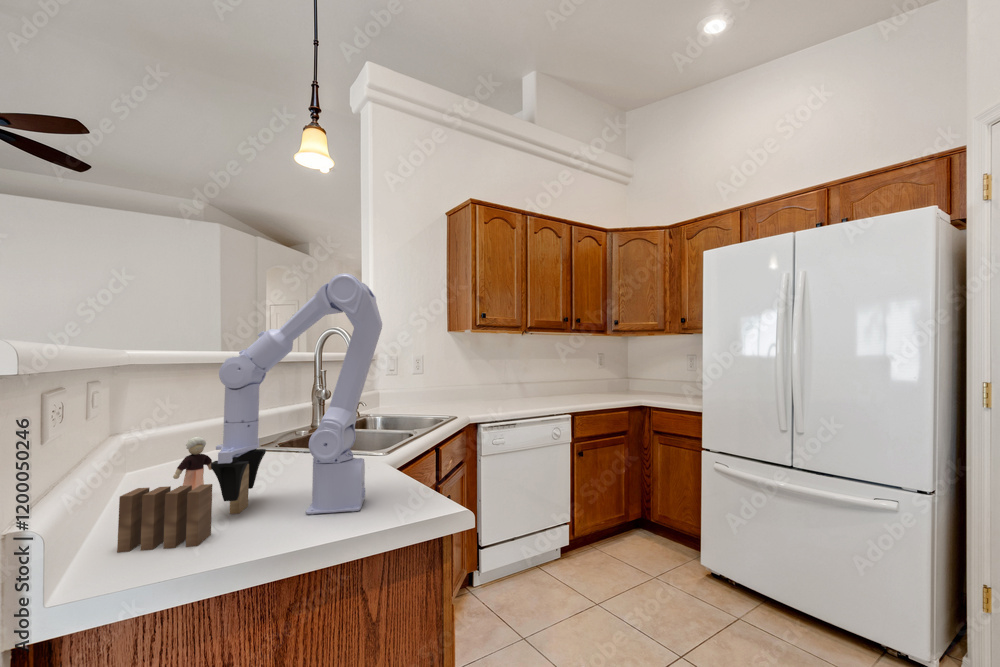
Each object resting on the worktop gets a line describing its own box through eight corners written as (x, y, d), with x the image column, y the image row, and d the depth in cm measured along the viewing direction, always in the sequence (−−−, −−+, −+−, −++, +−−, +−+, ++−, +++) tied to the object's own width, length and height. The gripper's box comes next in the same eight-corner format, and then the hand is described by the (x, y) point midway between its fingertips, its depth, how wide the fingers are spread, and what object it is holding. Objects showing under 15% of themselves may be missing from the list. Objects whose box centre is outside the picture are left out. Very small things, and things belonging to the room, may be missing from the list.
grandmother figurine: (185, 507, 85) (187, 440, 85) (169, 506, 85) (171, 439, 86) (218, 495, 92) (220, 433, 93) (203, 494, 93) (205, 433, 94)
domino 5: (248, 505, 85) (249, 463, 86) (239, 513, 81) (240, 469, 81) (239, 506, 85) (240, 464, 85) (229, 514, 81) (230, 469, 81)
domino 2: (168, 538, 70) (170, 486, 70) (152, 549, 65) (154, 494, 66) (157, 538, 70) (159, 486, 70) (140, 550, 65) (142, 495, 66)
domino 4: (210, 534, 71) (212, 484, 71) (197, 546, 67) (199, 491, 67) (199, 535, 71) (201, 484, 71) (185, 547, 66) (187, 492, 67)
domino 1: (147, 539, 69) (149, 487, 70) (129, 551, 65) (131, 495, 65) (135, 540, 69) (137, 488, 69) (117, 552, 65) (119, 496, 65)
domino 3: (190, 536, 70) (191, 485, 71) (175, 547, 66) (177, 493, 67) (178, 537, 70) (180, 485, 71) (163, 548, 66) (165, 493, 66)
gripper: (233, 416, 90) (231, 484, 89) (199, 427, 76) (196, 508, 75) (271, 416, 92) (269, 482, 91) (244, 426, 77) (241, 505, 77)
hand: (239, 494), depth 83 cm, fingers open, 7 cm apart
